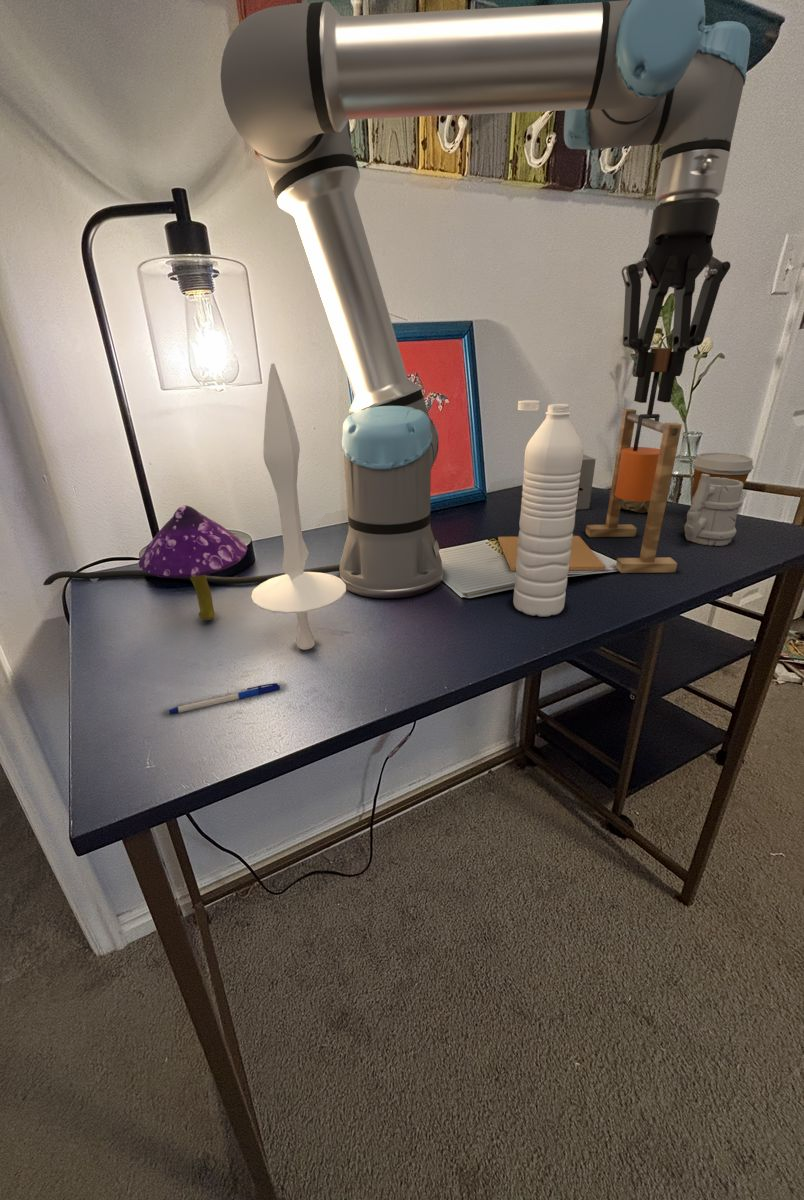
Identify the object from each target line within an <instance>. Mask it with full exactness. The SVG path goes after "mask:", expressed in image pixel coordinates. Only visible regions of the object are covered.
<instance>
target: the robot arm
mask: <svg viewBox="0 0 804 1200" xmlns="http://www.w3.org/2000/svg"><path fill="white" fill-rule="evenodd" d="M750 47H751V31H750V30H749V28H748V27H747V25H745V24H744V23H742V22H739V21H735V20H724V21H717V22H715V23H713V24H710V25H706V5H705V0H610V1H598V2H597V1H596V2H580V3H579V2H578V3H563V4H561V3H560V4H559V3H558V4H544V5H542V4H541V5H526V6H525V5H523V6H509V7H508V6H505V7H489V8H471V9H470V8H469V9H453V10H452V9H451V10H435V11H417V12H415V11H413V12H398V13H381V14H380V13H379V14H378V13H377V14H362V15H360V14H359V15H343V16H342V15H341V14H340V13H339V12H338V10H336V9H335V7H334V6H333V5H332V3H331V2H330V1H315V2H299V3H290V4H282V5H281V4H280V5H275V6H271V7H266V8H264V9H261V10H258V11H256V12H253V13H251V14H250V15H248V16H247V17H245V18H244V19H243V20H241V21H240V22H239V23H238V25H237V26H236V27H235V28H234V29H233V31H232V32H231V34H230V35H229V37H228V38H227V41H226V44H225V47H224V49H223V52H222V56H221V64H220V75H219V77H220V86H221V95H222V99H223V101H224V102H223V103H224V106H225V109H226V112H227V114H228V117H229V119H230V121H231V123H232V125H233V126H234V128H235V130H236V131H237V133H238V134H239V136H240V137H241V138H242V139H243V140H244V141H245V142H246V144H248V146H249V147H251V148H252V149H253V150H254V151H255V152H256V153H257V154H259V156H260V158H261V160H262V162H263V165H264V168H265V171H266V174H267V177H268V180H269V184H270V186H271V189H272V191H273V195H274V197H275V200H276V203H277V207H278V208H279V209H280V210H282V211H283V212H285V213H287V214H289V215H290V216H292V217H293V218H294V221H295V224H296V227H297V230H298V233H299V236H300V239H301V242H302V245H303V248H304V251H305V254H306V257H307V260H308V264H309V266H310V269H311V271H312V275H313V277H314V280H315V284H316V287H317V289H318V293H319V296H320V298H321V302H322V304H323V307H324V311H325V313H326V316H327V320H328V323H329V326H330V329H331V331H332V335H333V337H334V341H335V343H336V346H337V349H338V352H339V356H340V358H341V361H342V364H343V367H344V371H345V374H346V376H347V379H348V382H349V386H350V389H351V392H352V393H353V400H352V403H351V405H350V407H349V410H348V414H349V415H348V416H347V417H346V418H345V420H344V421H343V424H342V437H341V450H342V452H343V466H344V479H345V490H346V491H345V495H346V506H347V519H348V520H347V522H348V530H347V535H346V539H345V543H344V547H343V551H342V555H341V557H340V558H341V559H340V562H339V564H332V565H325V566H319V567H313V568H307V569H304V572H318V573H325V574H329V573H334V572H338V574H339V578H340V579H341V580H342V581H343V582H344V583H345V584H346V591H348V592H351V593H353V594H356V595H359V596H362V597H367V598H374V599H401V598H409V597H414V596H418V595H421V594H424V593H427V592H429V591H431V590H433V589H435V588H437V586H439V585H440V584H441V583H442V581H443V577H444V576H443V574H444V568H443V561H442V557H441V554H440V550H441V549H440V546H439V543H438V540H437V539H436V540H435V537H434V533H433V530H432V527H431V485H432V484H431V481H432V480H431V478H432V477H431V476H432V469H433V466H434V464H435V462H436V460H437V457H438V453H439V443H440V439H439V433H438V429H437V427H436V425H435V424H434V420H433V419H432V418H431V416H430V414H429V411H428V406H427V404H426V400H425V397H424V393H423V390H422V387H421V386H420V385H419V384H417V383H416V382H413V381H412V380H410V379H409V378H408V375H407V371H406V367H405V364H404V360H403V357H402V354H401V351H400V347H399V343H398V340H397V336H396V333H395V330H394V326H393V323H392V319H391V317H390V313H389V310H388V306H387V303H386V298H385V296H384V293H383V289H382V286H381V282H380V279H379V276H378V272H377V268H376V265H375V261H374V259H373V254H372V252H371V248H370V244H369V241H368V238H367V235H366V231H365V227H364V225H363V220H362V218H361V213H360V210H359V207H358V204H357V200H356V195H355V193H356V189H357V187H358V184H359V182H360V179H361V172H360V170H359V169H360V168H359V166H358V162H357V158H356V155H355V152H354V148H353V144H352V132H351V128H350V127H351V123H350V121H351V120H369V119H370V120H371V119H374V120H375V119H394V118H395V119H396V118H418V117H441V116H442V117H443V116H463V115H466V116H467V115H484V114H485V115H487V114H510V113H532V112H533V113H535V112H536V113H537V112H557V111H559V112H561V111H564V119H563V120H564V121H563V141H564V144H565V146H566V148H568V149H570V150H588V151H591V152H593V151H594V152H595V150H600V149H613V148H614V149H615V148H627V147H628V148H629V147H638V146H639V147H641V146H655V145H662V150H661V151H662V153H661V158H660V166H659V172H658V179H657V184H656V190H655V195H654V201H655V202H656V203H657V204H658V205H656V206H655V208H654V209H653V211H652V217H651V223H650V229H649V235H648V245H647V248H646V250H645V251H644V253H643V254H642V257H641V259H639V260H638V261H636V262H634V263H631V264H628V265H626V266H624V267H622V269H621V277H622V280H623V283H624V287H625V289H624V308H623V309H624V310H623V327H622V328H623V329H622V332H623V333H622V345H623V346H624V348H625V347H626V348H629V349H631V350H633V352H634V359H633V366H632V377H633V378H634V377H635V378H637V381H636V387H635V392H634V398H633V402H636V403H640V404H646V403H647V402H648V401H647V400H648V395H649V389H650V384H651V378H652V373H653V372H652V367H653V361H654V355H655V352H650V350H651V347H652V343H653V340H654V336H655V332H656V330H657V325H658V322H659V319H660V315H661V311H662V308H663V304H664V301H665V297H666V296H667V294H668V292H669V289H670V288H672V289H673V296H674V308H673V309H674V310H673V311H674V312H673V324H672V325H673V326H672V342H671V350H672V351H671V353H670V359H669V364H668V370H667V372H661V375H660V376H661V377H660V381H659V387H658V392H657V399H656V401H658V402H661V403H671V399H672V395H673V389H674V384H675V378H676V377H681V375H682V373H683V369H684V364H685V359H686V354H687V352H688V351H690V350H691V349H692V348H694V347H697V346H701V345H702V344H703V342H704V339H705V337H706V333H707V329H708V326H709V322H710V319H711V317H712V313H713V310H714V307H715V303H716V300H717V297H718V294H719V291H720V287H721V283H722V282H723V280H724V278H725V277H726V276H727V274H728V272H729V271H730V269H731V262H730V261H728V260H726V261H721V260H719V259H718V258H716V257H715V256H714V250H713V245H712V240H713V237H714V234H715V230H716V225H717V220H718V215H719V211H720V210H719V209H720V206H721V205H720V204H721V203H720V202H719V200H718V199H716V198H718V197H719V196H720V195H721V194H722V193H723V190H724V189H723V188H724V185H725V179H726V174H727V169H728V163H729V159H730V152H731V148H732V140H733V137H734V131H735V127H736V122H737V117H738V113H739V110H740V109H739V108H740V104H741V99H742V94H743V90H744V86H745V85H746V81H747V71H748V70H747V69H748V63H749V57H750ZM704 269H705V271H704V274H703V276H704V279H703V280H704V281H703V282H702V285H701V287H700V292H699V295H698V299H697V302H696V306H695V309H694V313H693V315H692V307H693V306H692V305H693V295H694V293H695V290H696V280H697V278H698V277H699V276H700V274H701V273H702V272H703V270H704ZM644 270H645V272H646V274H647V275H648V278H649V280H650V282H651V283H650V286H649V288H648V289H649V290H648V293H647V294H648V297H647V302H646V305H645V309H644V312H643V316H642V320H641V322H640V314H641V312H640V311H641V298H642V297H641V296H642V279H643V277H644ZM640 323H641V324H640ZM281 575H285V573H283V572H279V573H272V574H265V575H264V574H263V575H255V576H254V575H253V576H235V577H234V576H233V577H232V576H214V575H207V574H206V575H205V577H206V579H207V582H208V583H212V584H213V583H214V584H224V585H243V584H258V583H263V582H265V581H267V580H269V579H271V578H274V577H278V576H281ZM127 577H129V578H130V577H132V578H133V577H149V578H159V577H158V576H154V575H150V574H148V573H147V572H145V571H144V570H142V569H141V570H140V569H138V570H137V569H132V570H130V569H129V570H127V569H126V570H111V571H109V570H108V571H97V572H96V571H95V572H85V571H84V572H83V571H72V570H63V571H58V572H55V573H53V574H51V575H49V576H48V577H47V578H46V579H45V580H44V582H43V584H42V585H43V586H50V585H52V584H53V583H54V582H56V581H57V580H59V579H64V578H65V579H68V578H69V579H70V578H71V579H80V580H81V579H83V580H95V579H111V578H127ZM162 578H163V579H166V578H165V577H162ZM172 579H175V580H184V581H191V579H190V577H184V578H172Z"/></svg>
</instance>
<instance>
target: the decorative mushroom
mask: <svg viewBox="0 0 804 1200" xmlns="http://www.w3.org/2000/svg"><path fill="white" fill-rule="evenodd" d="M247 550H248V546H247V545H246V543H245V542H244V541H243V540H241V539H240V538H239V537H237V536H236V535H235V534H234V533H233V532H231V531H229V530H228V529H227V528H225V527H223V526H222V525H221V524H219V523H218V522H216V521H214V520H213V519H211V518H209V517H208V516H206V515H204V514H202V513H201V512H199V511H198V510H197V509H195V507H193V506H190V505H181V506H179V507H178V508H177V509H176V511H174V513H173V515H172V517H171V518H170V519H169V520H168V521H167V522H166V523H165V524H164V525H163V526H162V528H161V529H160V530H159V531H158V532H157V533H156V534H155V536H154V537H152V539H151V541H150V542H149V543H148V545H147V546H146V548H145V550H144V552H143V554H142V555H141V557H140V558H139V561H138V567H139V568H140V569H141V570H144V571H145V572H147V573H148V574H150V575H154V576H158V577H157V578H163V577H165V578H164V579H173V578H184V577H190V579H191V580H190V581H191V583H192V585H193V586H194V590H195V593H196V597H197V603H198V608H199V612H198V617H199V619H201V620H202V621H211V620H213V619H214V617H215V616H216V615H215V614H216V612H215V608H214V603H213V597H212V592H211V588H210V585H209V582H207V579H206V577H205V575H206V576H207V575H211V574H214V573H217V572H221V571H223V570H226V569H229V568H230V567H233V566H234V565H236V564H238V563H239V562H241V561H242V560H243V559H244V558H245V556H246V554H247Z"/></svg>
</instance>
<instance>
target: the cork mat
mask: <svg viewBox="0 0 804 1200" xmlns="http://www.w3.org/2000/svg"><path fill="white" fill-rule="evenodd" d="M497 540H498V542H499V546H500V548H501V550H502V553H503V555H504V557H505V560H506V562H507V566H508V567H509V570H510V572H517V571H516V561H517V555H518V554H517V548H518V545H519V544H518V536H498V537H497ZM570 549H571V556H570V561H569V571H605V568H606V566H605V565H604V564H603V563H602V561H601V560H600V559H599V558H598V556H597V555H596V554H595V553H594V552H593V550H592V549H591V548H590V547H589V545H588V544H587V543H586V542H585V541H584V540H583V539H582V537H581V536H580V535H573V540H572V546H571V548H570Z"/></svg>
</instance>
